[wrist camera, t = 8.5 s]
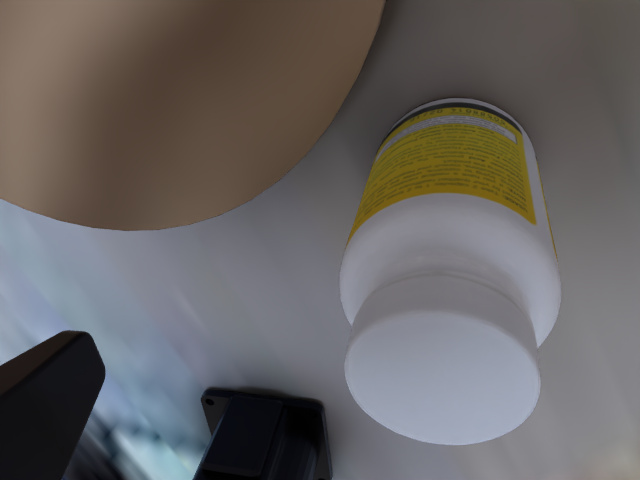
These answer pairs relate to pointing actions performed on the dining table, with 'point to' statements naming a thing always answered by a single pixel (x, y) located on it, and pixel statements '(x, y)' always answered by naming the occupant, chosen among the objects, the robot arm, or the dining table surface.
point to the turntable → (167, 101)
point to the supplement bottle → (450, 277)
